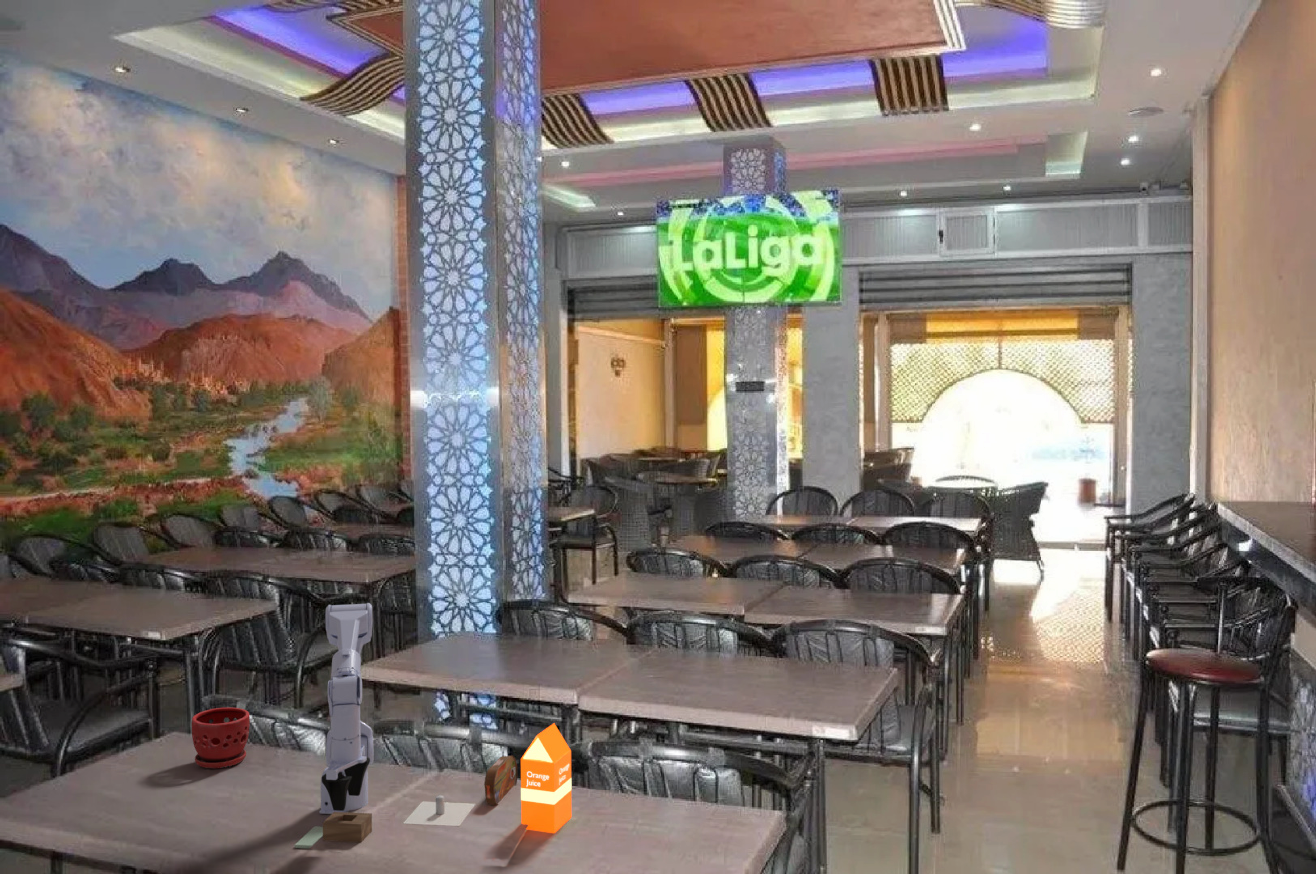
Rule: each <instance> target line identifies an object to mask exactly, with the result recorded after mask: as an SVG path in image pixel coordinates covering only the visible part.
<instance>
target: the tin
mask: <svg viewBox="0 0 1316 874" xmlns="http://www.w3.org/2000/svg"><path fill="white" fill-rule="evenodd" d="M517 783H518V764H517V760H516V757H515V756H514V755H504V756H500V757H499V758H498V759H497V760H496V761H495V762H494V763H493V764H492V765H491V766H490V767H489V768H488V769H487V771H486V773H485V776H484V783H483V784H484V797H485V802H486V804H487V805H490V806H491V805H493V806H498V805H500V804H499V803H500V802H501V801H502V799H504V798H505V796H507V794H508V793H509V792H510V791H511V789H512V788H513V787H515V786H517Z"/></svg>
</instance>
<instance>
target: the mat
mask: <svg viewBox="0 0 1316 874" xmlns="http://www.w3.org/2000/svg"><path fill="white" fill-rule="evenodd" d="M321 838H323V826H313V827H312V828H311V829H310V830H309V831H308V832H307V833H306V834H304V835H303V837H302V838H300V839H299V840H298V841H297V842H296V843H295V844H294V848H295V849H311V847H313V846H314V845H315V844H316V843H317V842H318V841H319V840H320V839H321Z"/></svg>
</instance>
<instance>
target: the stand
mask: <svg viewBox="0 0 1316 874" xmlns="http://www.w3.org/2000/svg"><path fill="white" fill-rule="evenodd" d="M475 806H476V803H471V802H470V803H467V802H466V803H464V802H445V795H436V796H435V801H423V800H422V801H421V802H420V804H419V805H418V806H417V807H416V808H415V809H414V810H413V811H412V813H411V814H410V815H409V816H408V817H407V818H406V819H405V821H404V822H402V824H403V825H404V824H405V825H421V826H423V825H426V826H445V827H446V826H447V827H449V826H450V827H460V826H461V824H462V823H463V822H464V821H465V819H466V818H467V816H468V815H469V814H470V813H471V811H472V810H473V808H474V807H475Z"/></svg>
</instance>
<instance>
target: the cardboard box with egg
mask: <svg viewBox="0 0 1316 874" xmlns="http://www.w3.org/2000/svg"><path fill="white" fill-rule="evenodd" d="M372 815H373V814H372V813H369V812H368V813H367V812H366V813H365V812H349V811H348V812H333V813H332V814H329V816H328V817H327V818H325V820H323V822H322V827H323V836H322V841H326V842H327V841H328V842H346V843H347V842H350V843H362V842H363V841H365V839H366V838H367V837H368V836H369V835H370V834H371V833H372V832H373V819H372V818H373V816H372Z"/></svg>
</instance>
